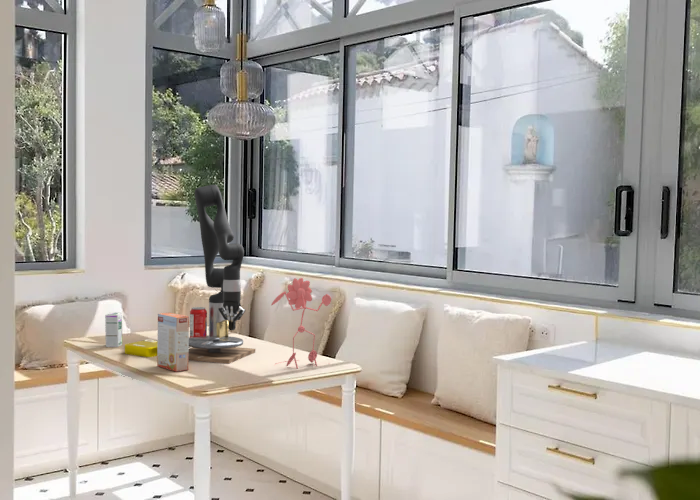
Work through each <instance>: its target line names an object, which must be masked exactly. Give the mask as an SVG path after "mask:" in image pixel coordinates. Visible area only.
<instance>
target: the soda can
mask: <svg viewBox="0 0 700 500" xmlns="http://www.w3.org/2000/svg"><path fill="white" fill-rule="evenodd" d="M207 331H208V311H207V309H206V307H203V306H195V307H194V306H192V307H191V309H190V311H189V339H190V338H191V337H193V338H194V337H202V336H208V335H207V334H208V332H207Z"/></svg>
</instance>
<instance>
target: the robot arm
mask: <svg viewBox="0 0 700 500" xmlns="http://www.w3.org/2000/svg"><path fill="white" fill-rule="evenodd" d="M194 198H195V199H194V200H195V205H196V209H197V214H198V215H197V216H198V220H199V226H200V236H201V244H202V245H201V246H202V251H203V258H204V272H205V273H204V274H205V275H204V276H205V282H206V285H207V287H209V288H215V289H217V288H219V289H220V291H219V292H217V293H214V294H212V295H210V296H209V297H208V336H216V334H217V323H218V322H221V321H222V320H227V321H228V328H229V331H235V330H236V328H237V327H236V326H237V325H236V324H237V321H240V319H241V318H242V316H243V315H244V314H245V313H246V309H245V308H243V307H242V304H241V299H242V296H241V295H242V293H241V292H242V291H241V288H242V285H241V268H242V263H243V260H244V255H245V250H244V249H245V248H244V247H243V245H242V244H241V243H231V242H233V240H234V239H235V235H234V232H233V230H232V228H231V224H230V222H229V220H228V216H227V212H226V208H225V204H224V200H223V196H222V193H221V191H220V188H219V186H218V185H217V184H209V185H205V186H199V187H197V188H195V190H194ZM212 206H213V207H214V206H216V214H215V217H214V220H212V219H211V216H209V215H208V213H207V211H206V208H208V207H212ZM217 255H219V257H220V259H221V260H223V261H232V262H231V263H230V264H229V265H226V266H224V267H223V268H222V267H221V268H220V267H216V268H215V267H214V261H215V260H216V257H217ZM229 333H230V332H228V336H229V337H230V334H229Z"/></svg>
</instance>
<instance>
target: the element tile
mask: <svg viewBox="0 0 700 500" xmlns="http://www.w3.org/2000/svg"><path fill="white" fill-rule="evenodd" d="M157 350H158V340H154V339H152V338H151V339H144V340H139V341H135V342H128V343H125V344H124V354H125V355H129V356H135V357H141V358H143V357H144V358H155V357H157Z"/></svg>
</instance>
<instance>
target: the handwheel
mask: <svg viewBox="0 0 700 500" xmlns="http://www.w3.org/2000/svg"><path fill="white" fill-rule="evenodd" d="M229 331H230V330H229V328H228V321H227V320H222V321H221V322H218V323H217V334H216V336H209V335H207V336H202V337H194V338H193V337H191V338H190V337H189V347H190V348H192V347H193V348H202V349H224V348H233V347H241V346H242V345H244V340H243V338H240V337H236V336H230V335H229V336H228V332H229ZM229 333H230V332H229Z"/></svg>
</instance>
